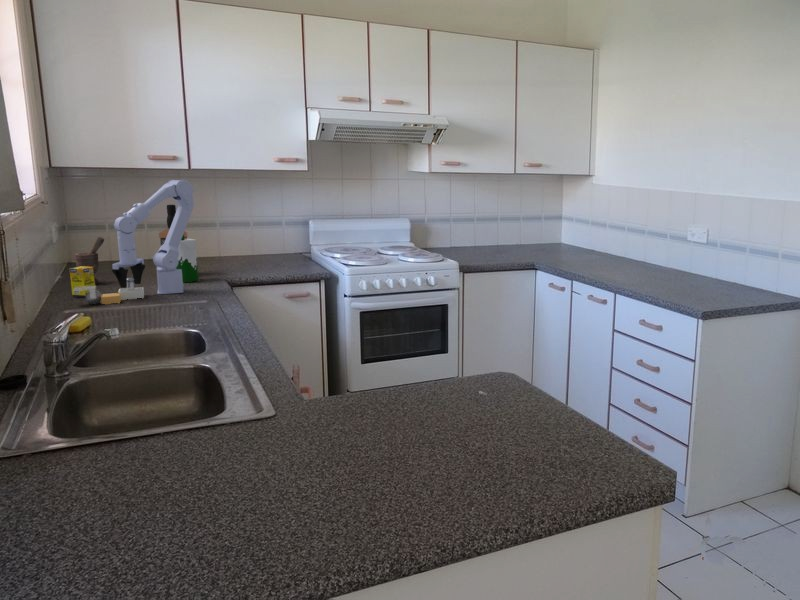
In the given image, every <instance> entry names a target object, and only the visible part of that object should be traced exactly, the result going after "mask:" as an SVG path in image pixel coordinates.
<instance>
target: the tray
mask: <svg viewBox="0 0 800 600" xmlns="http://www.w3.org/2000/svg"><path fill="white" fill-rule="evenodd" d="M134 290H135V291H127V287H126V288H119V289H118V291H117V294H118V293H120V297H121V301H123V300H124V301H126V300H127V299H128V300H138V299H137V298H142V299H144V298H145V291H144V290H145V289H144V286H142V287H141V286H140V287H134ZM128 300H127V301H128Z"/></svg>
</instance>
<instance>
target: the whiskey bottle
mask: <svg viewBox="0 0 800 600" xmlns="http://www.w3.org/2000/svg"><path fill="white" fill-rule="evenodd" d="M176 211H177V206H176V204H166V212H167V217H166V226H167V228H165V229H163V230H162V231H160V232H159V233H158V237H159V240H160V241H159V242H160V243H159V244H160V247H161V246H162V245H163V244H164V243H165V240H166V237H167V235H168V232H169V229H170V227H171V224H172V222H173V219H174V216H175V214H176ZM188 234H189V233H188V232H187V231H186V230H185V231H184V234H183V235H184V239H188V236H189V235H188Z"/></svg>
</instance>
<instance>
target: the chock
mask: <svg viewBox="0 0 800 600" xmlns="http://www.w3.org/2000/svg"><path fill="white" fill-rule="evenodd" d="M103 294H104V295H103ZM103 294H101V295H102V296H101V301H100V302H101V305H102V304H105V305H112V304H111V303H118V304H121V303H120V302H122V300H121V297H120V293H118V292H117V294H112V293H103Z"/></svg>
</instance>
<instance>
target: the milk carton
mask: <svg viewBox="0 0 800 600" xmlns="http://www.w3.org/2000/svg"><path fill="white" fill-rule="evenodd" d="M197 242H198V239H194V238H187V239H184V235H183V236H182V239H181V242H180V244H179V247H178V250H179V256H178V265H177V267H176V269H182V280H183V283H184V284H186V283H185V282H189V283H193V282H192V281H196V282H199V281H200V280H199V279H200V278H199V268H198V266H199V265H198V254H197V253H198V252H197V244H198V243H197Z"/></svg>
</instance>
